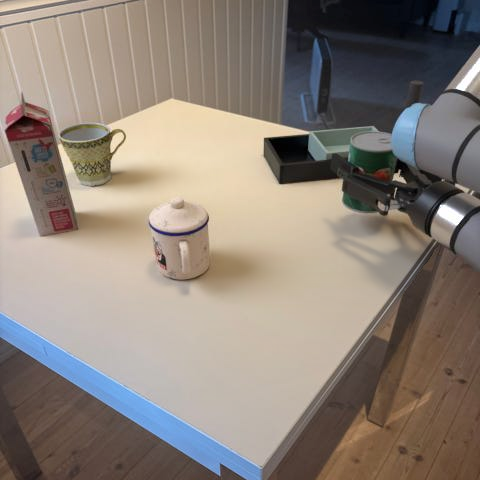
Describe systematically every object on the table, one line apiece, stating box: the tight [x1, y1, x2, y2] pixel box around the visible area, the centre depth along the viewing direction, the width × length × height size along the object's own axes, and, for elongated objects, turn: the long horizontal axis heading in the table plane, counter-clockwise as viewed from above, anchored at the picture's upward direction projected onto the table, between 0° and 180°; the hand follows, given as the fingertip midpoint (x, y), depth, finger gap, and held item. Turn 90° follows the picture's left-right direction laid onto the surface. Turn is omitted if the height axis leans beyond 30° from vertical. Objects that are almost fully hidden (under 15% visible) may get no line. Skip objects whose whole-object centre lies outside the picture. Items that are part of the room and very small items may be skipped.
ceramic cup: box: [57, 122, 127, 187], centre depth 100 cm, size 13×10×10 cm
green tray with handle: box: [308, 80, 424, 161], centre depth 103 cm, size 21×12×15 cm, turn 101°
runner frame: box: [263, 133, 348, 185], centre depth 105 cm, size 18×15×4 cm
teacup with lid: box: [148, 196, 211, 281], centre depth 74 cm, size 12×9×12 cm
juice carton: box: [4, 91, 79, 237], centre depth 82 cm, size 7×7×22 cm
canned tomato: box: [341, 130, 397, 215], centre depth 82 cm, size 8×8×11 cm
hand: (353, 156), depth 84 cm, fingers closed on canned tomato, 8 cm apart
